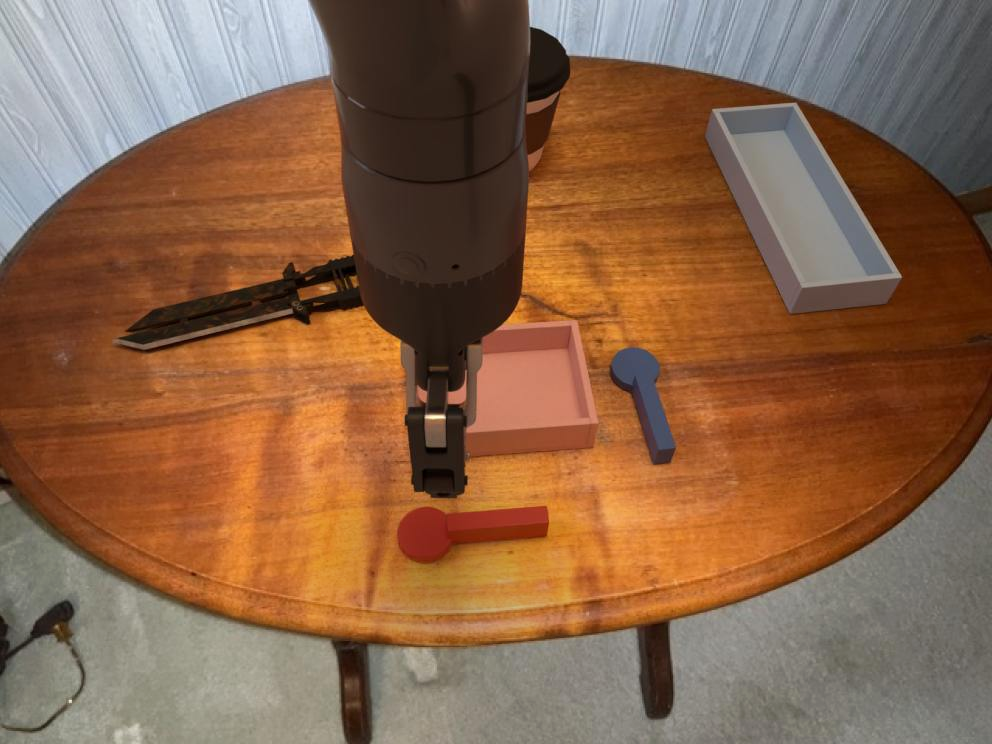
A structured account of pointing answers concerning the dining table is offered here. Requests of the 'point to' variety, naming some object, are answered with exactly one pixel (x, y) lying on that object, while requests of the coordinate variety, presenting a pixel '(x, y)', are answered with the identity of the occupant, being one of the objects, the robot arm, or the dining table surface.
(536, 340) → the rose bin
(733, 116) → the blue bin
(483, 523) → the red spoon
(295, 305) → the knife
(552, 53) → the coffee cup
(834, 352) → the dining table surface
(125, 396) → the dining table surface
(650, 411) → the blue spoon
